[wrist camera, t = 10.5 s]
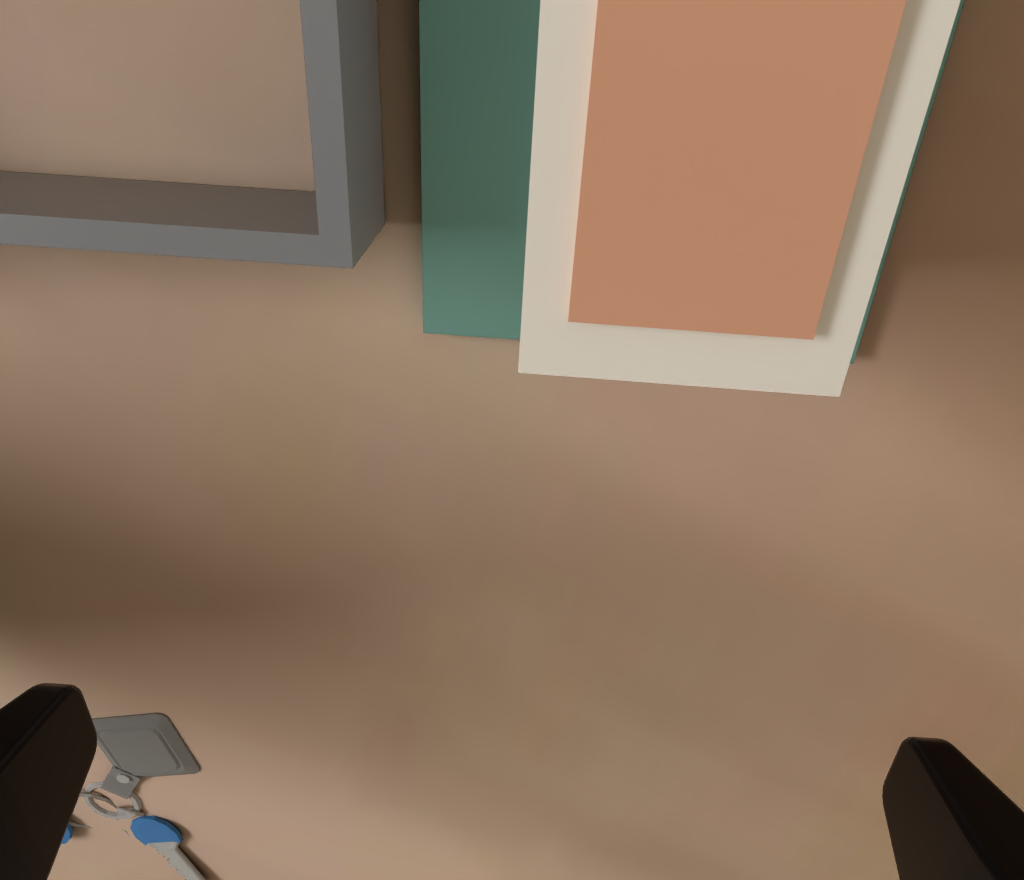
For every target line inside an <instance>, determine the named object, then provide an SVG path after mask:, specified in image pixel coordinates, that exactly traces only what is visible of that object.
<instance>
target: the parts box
mask: <svg viewBox="0 0 1024 880" xmlns="http://www.w3.org/2000/svg"><path fill="white" fill-rule="evenodd" d="M960 1H961V0H540V17H539V33H538V50H537V66H536V83H535V100H534V116H533V133H532V150H531V166H530V183H529V200H528V216H527V233H526V249H525V266H524V283H523V299H522V316H521V333H520V349H519V366H518V373H529V374H542V375H556V376H569V377H582V378H595V379H609V380H622V381H635V382H648V383H662V384H675V385H688V386H701V387H714V388H728V389H741V390H754V391H767V392H781V393H794V394H807V395H820V396H834V397H839V396H840V393H841V390H842V387H843V383H844V380H845V377H846V374H847V370H848V367H849V364H850V360H851V357H852V354H853V351H854V347H855V344H856V341H857V338H858V334H859V331H860V328H861V324H862V321H863V318H864V315H865V311H866V308H867V305H868V302H869V298H870V295H871V292H872V289H873V285H874V282H875V279H876V275H877V272H878V269H879V266H880V262H881V259H882V256H883V253H884V249H885V246H886V243H887V239H888V236H889V233H890V230H891V226H892V223H893V220H894V217H895V213H896V210H897V207H898V203H899V200H900V197H901V194H902V190H903V187H904V184H905V181H906V177H907V174H908V171H909V167H910V164H911V161H912V158H913V154H914V151H915V148H916V145H917V141H918V138H919V135H920V132H921V128H922V125H923V122H924V118H925V115H926V112H927V109H928V105H929V102H930V99H931V96H932V92H933V89H934V86H935V82H936V79H937V76H938V73H939V69H940V66H941V63H942V60H943V56H944V53H945V50H946V46H947V43H948V40H949V37H950V33H951V30H952V27H953V24H954V20H955V17H956V14H957V10H958V7H959V4H960Z"/></svg>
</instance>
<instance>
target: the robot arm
mask: <svg viewBox="0 0 1024 880" xmlns="http://www.w3.org/2000/svg"><path fill="white" fill-rule="evenodd" d="M96 747H97V732H96V729H95V726H94V723H93V721H92V718H91V715H90V713H89V710H88V707H87V705H86V702H85V699H84V697H83V694H82V692H81V690H80V689H79V688H77V687H76V686H74V685H67V684H51V683H43V684H38V685H36V686H34V687H32V688H30V689H28V690H27V691H25V692H24V693H23V694H21V695H20V696H18V697H17V698H15V699H14V700H12V701H11V702H10V703H8V704H7V705H5V706H4V707H2V708H1V709H0V880H47V878H48V876H49V874H50V871H51V868H52V866H53V863H54V861H55V858H56V855H57V853H58V850H59V847H60V845H61V842H62V840H63V837H64V834H65V832H66V829H67V826H68V824H69V821H70V819H71V816H72V813H73V811H74V808H75V806H76V803H77V800H78V798H79V795H80V792H81V790H82V787H83V785H84V782H85V779H86V777H87V774H88V771H89V769H90V766H91V764H92V761H93V758H94V755H95V752H96ZM882 798H883V806H884V811H885V816H886V820H887V825H888V829H889V834H890V838H891V843H892V847H893V852H894V856H895V861H896V865H897V870H898V874H899V878H900V880H1024V812H1023V811H1022V810H1021V809H1020V808H1019V807H1018V806H1017V805H1016V804H1015V803H1014V802H1013V801H1012V800H1011V799H1010V798H1009V797H1008V796H1006V795H1005V794H1004V793H1003V792H1002V791H1001V790H1000V789H999V788H998V787H997V786H996V785H995V784H994V783H993V782H992V781H991V780H990V779H989V778H987V777H986V776H985V775H984V774H983V773H982V772H981V771H980V770H979V769H978V768H977V767H976V766H975V765H974V764H973V763H972V762H971V761H970V760H968V759H967V758H966V757H965V756H964V755H963V754H962V753H961V752H960V751H959V750H958V749H957V748H956V747H955V746H953V745H952V744H951V743H949V742H948V741H945V740H943V739H938V738H922V737H908V738H907V739H905V740H904V741H903V742H902V743H901V745H900V747H899V749H898V752H897V754H896V756H895V759H894V761H893V763H892V765H891V768H890V770H889V772H888V774H887V777H886V779H885V781H884V785H883V794H882Z"/></svg>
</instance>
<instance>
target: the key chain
mask: <svg viewBox="0 0 1024 880" xmlns="http://www.w3.org/2000/svg"><path fill="white" fill-rule="evenodd" d="M92 721H93V723H94V726H95V729H96V732H97V744H98V745H99V747H100V748H101V749H102V751H103V752H104V754H105V755H106V756H107V758H108V759H109V761H110V762H111V763H112V765H113V768H112V769H111V771H110V773H109V774H108V776H107V778H106V779H105V781H104V782H94V783H92V784H90V785H88V786H86V787H85V790H84V793H80V795H79V796H82V797H84V799H85V802H86V804H87V805H88V806H89V807H90V808H91V809H92V810H93V811H95V812H97V813H99V814H101V815H103V816H105V817H108V818H113V819H117V820H120V819H129V818H131V817H133V816H135V815H139V816H141V817H139V818H136V819H134V820H133V821H132V825H131V830H132V832H133V834H134V835H135V837H136V838H137V839H138V840H140V841H141V842H142V843H143V844H145V845H149V846H151V847H153V848H156V849H157V850H156V851H157V852H158V853H159V854H162V855H163V856H164V857H167V858H168V860H167V861H168V862H169V865H170V867H176V868H177V870H176V871H177V872H178V874H182V875H183V876H184V877H185V878H186V879H185V880H206V879H205V878H204V877H203V876H202V875H201V873H200V872H199V871H198V870H197V869H196V868H195V866H194V865H193V864H192V863H191V862H190V861H189V859H188V858H187V857H186V856H185V855H184V854H183V852H182V851H181V850H180V849H179V848H178V845H179V843H181V842H182V840H183V838H182V836H181V834H180V832H179V831H178V830H177V829H176V828H175V827H174V826H173V825H171V824H170V823H169V822H167V821H165V820H163V819H161V818H158V817H156V816H144V815H145V814H144V812H140V811H141V808H142V804H141V801H140V798H139V797H138V796H137V795H136V794H134V793H133V792H132V791H133V790H134V788H135V787H136V785H137V784H138V782H139V781H140V779H141V777H155V776H169V775H183V774H195V773H197V772H199V771H200V767H199V765H198V763H197V762H196V760H195V759H194V757H193V755H192V754H191V752H190V751H189V749H188V748H187V746H186V744H185V743H184V741H183V740H182V738H181V737H180V735H179V733H178V732H177V730H176V729H175V727H174V726H173V724H172V723H171V721H170V719H169V718H168V717H167V716H166V715H164V714H161V713H150V714H139V715H128V716H117V717H107V718H96V719H92ZM95 788H102V789H104V790H106V791H109V792H111V793H114V794H116V795H118V796H121V797H123V798H126V799H128V798H129V799H130V800H131V801H132V802H133V805H134V806H133V808H132V810H130V809H125V808H116V806H115V805H114V804H113V802H112V801H110V800H109V799H108V798H105V797H103V796H99V795H96V794H92V793H91V792H92V790H93V789H95ZM91 797H92V798H95V799H99V800H102V801H106V802H107V803H109V804H110V805H112V806H114V807H115V808H116V810H117V812H123V813H116V812H111V811H107V810H105V809H103V808H101V807H99V806H98V805H97V804H96V803H94V802H93V800H92V798H91ZM70 825H72V826H75V827H85V828H92V827H89V826H86V825H82V824H77V823H75V822H72V821H69V824H68V826H67V829H66V832H65V834H64V837H63V840H62V842H61V844H65V843H67V842H68V841H69V839H70V838H71V837H72V827H71V826H70ZM122 830H123V829H122ZM123 831H124V832H125V833H126V834H127V835H128V833H127V831H125V830H123Z"/></svg>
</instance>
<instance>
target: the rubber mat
mask: <svg viewBox="0 0 1024 880" xmlns="http://www.w3.org/2000/svg"><path fill="white" fill-rule="evenodd" d="M964 1H965V0H961V1H960V4H959V7H958V10H957V14H956V17H955V20H954V24H953V27H952V30H951V33H950V37H949V40H948V43H947V46H946V50H945V53H944V56H943V60H942V63H941V66H940V69H939V73H938V76H937V79H936V82H935V86H934V89H933V92H932V96H931V99H930V102H929V105H928V109H927V112H926V115H925V118H924V122H923V125H922V128H921V132H920V135H919V138H918V141H917V145H916V148H915V151H914V154H913V158H912V161H911V164H910V167H909V171H908V174H907V177H906V181H905V184H904V187H903V190H902V194H901V197H900V200H899V203H898V207H897V210H896V213H895V217H894V220H893V223H892V226H891V230H890V233H889V236H888V239H887V243H886V246H885V249H884V253H883V256H882V259H881V262H880V266H879V269H878V272H877V275H876V279H875V282H874V285H873V289H872V292H871V295H870V298H869V302H868V305H867V308H866V311H865V315H864V318H863V321H862V324H861V328H860V331H859V334H858V338H857V341H856V344H855V347H854V351H853V354H852V357H851V360H850V364H854V360H855V357H856V354H857V351H858V347H859V344H860V341H861V338H862V334H863V331H864V328H865V324H866V321H867V318H868V315H869V311H870V308H871V305H872V302H873V298H874V295H875V292H876V289H877V285H878V282H879V279H880V275H881V272H882V269H883V266H884V262H885V259H886V256H887V253H888V249H889V246H890V243H891V240H892V236H893V233H894V230H895V226H896V223H897V220H898V217H899V213H900V210H901V207H902V204H903V200H904V197H905V194H906V191H907V187H908V184H909V181H910V178H911V174H912V171H913V168H914V164H915V161H916V158H917V155H918V151H919V148H920V145H921V142H922V138H923V135H924V132H925V129H926V125H927V122H928V119H929V115H930V112H931V109H932V106H933V102H934V99H935V96H936V93H937V89H938V86H939V83H940V80H941V76H942V73H943V70H944V66H945V63H946V60H947V57H948V53H949V50H950V47H951V44H952V40H953V37H954V34H955V31H956V27H957V24H958V21H959V18H960V14H961V11H962V8H963V4H964ZM539 17H540V0H419V31H420V110H421V189H422V268H423V333H434V334H448V335H461V336H475V337H489V338H503V339H517V340H520V333H521V316H522V299H523V283H524V266H525V249H526V233H527V216H528V200H529V183H530V166H531V150H532V133H533V116H534V100H535V83H536V66H537V50H538V33H539Z"/></svg>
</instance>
